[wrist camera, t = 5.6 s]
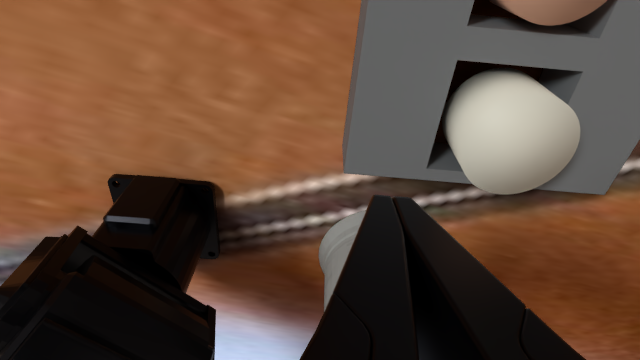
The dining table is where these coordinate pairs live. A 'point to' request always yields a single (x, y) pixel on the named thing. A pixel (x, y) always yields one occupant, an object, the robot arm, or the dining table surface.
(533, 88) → the cream button
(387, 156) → the console
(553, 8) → the terracotta button
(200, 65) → the dining table surface
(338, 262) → the grey handled cylinder
